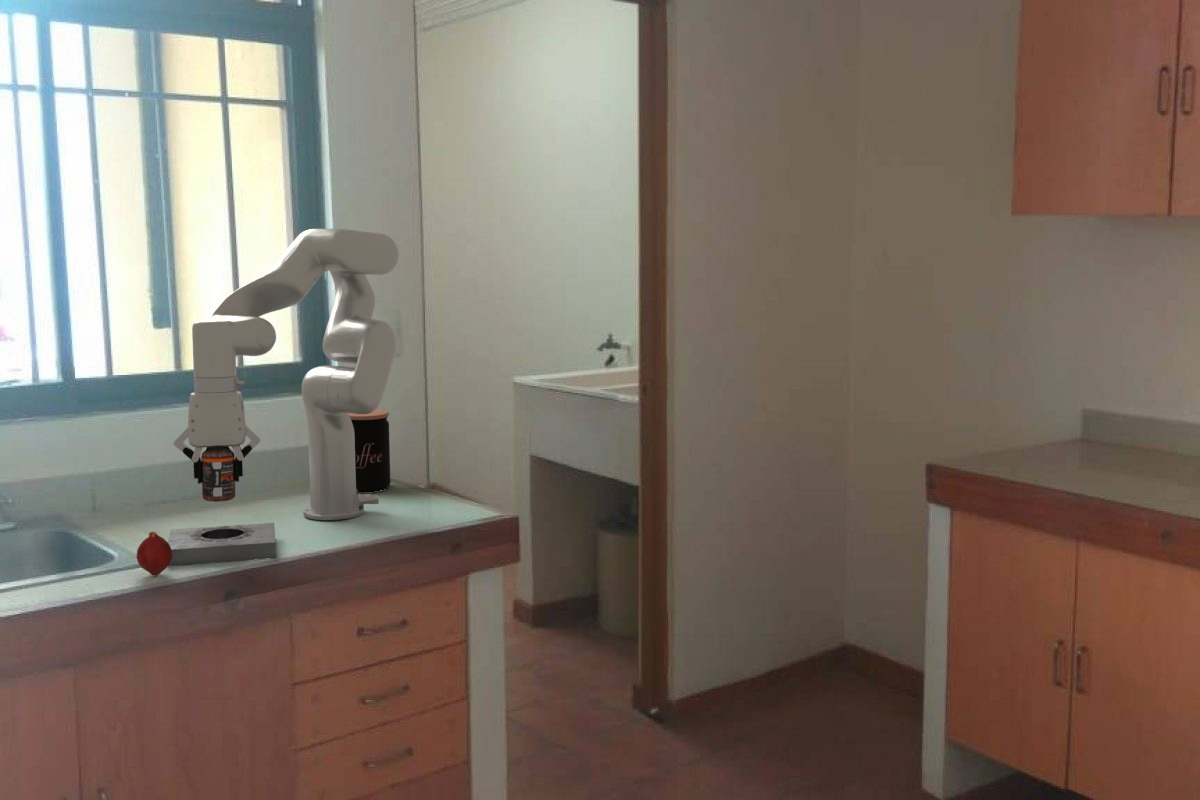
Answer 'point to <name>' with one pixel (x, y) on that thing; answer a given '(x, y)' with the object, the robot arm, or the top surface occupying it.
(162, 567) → the onion
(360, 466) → the coffee jar
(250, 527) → the jig plate
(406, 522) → the top surface
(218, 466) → the supplement bottle
